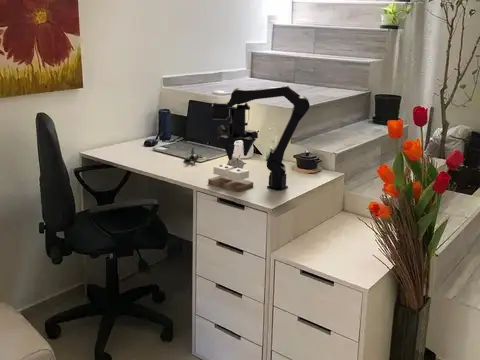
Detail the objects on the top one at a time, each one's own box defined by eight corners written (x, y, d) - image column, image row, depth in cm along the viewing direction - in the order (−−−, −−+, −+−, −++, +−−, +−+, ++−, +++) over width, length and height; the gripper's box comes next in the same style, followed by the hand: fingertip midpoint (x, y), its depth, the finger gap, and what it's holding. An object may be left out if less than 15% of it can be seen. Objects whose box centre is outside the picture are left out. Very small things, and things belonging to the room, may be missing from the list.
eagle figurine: (205, 160, 272) (196, 152, 278) (199, 149, 267) (190, 142, 274) (192, 170, 270) (184, 162, 277) (186, 159, 265) (177, 151, 272)
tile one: (248, 177, 236) (248, 169, 235) (239, 180, 232) (239, 172, 231) (237, 174, 240) (237, 166, 239) (228, 177, 235) (228, 169, 234)
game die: (238, 182, 256) (243, 168, 249) (220, 174, 257) (225, 160, 249) (245, 168, 262) (250, 154, 254) (228, 160, 262) (232, 146, 255)
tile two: (233, 173, 241) (233, 166, 240) (224, 176, 237) (224, 168, 236) (222, 170, 245) (223, 163, 244) (213, 173, 240) (213, 166, 239)
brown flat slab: (253, 186, 238) (253, 182, 238) (237, 192, 231) (238, 187, 230) (224, 178, 248) (224, 174, 247) (208, 183, 241) (208, 179, 240)
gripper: (238, 114, 243) (238, 150, 247) (207, 120, 229) (207, 158, 234) (259, 118, 236) (258, 155, 240) (228, 124, 222) (227, 163, 227)
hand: (237, 157), depth 235 cm, fingers open, 9 cm apart
